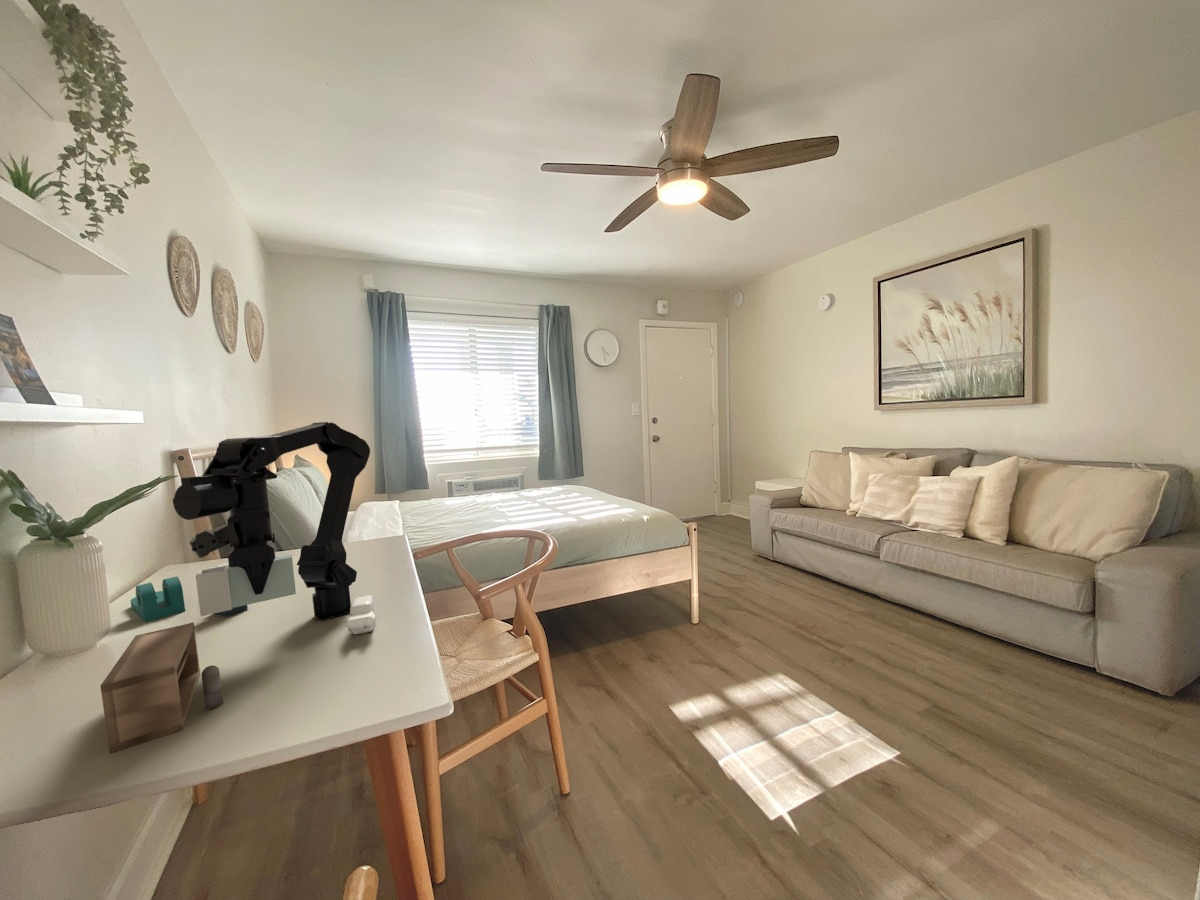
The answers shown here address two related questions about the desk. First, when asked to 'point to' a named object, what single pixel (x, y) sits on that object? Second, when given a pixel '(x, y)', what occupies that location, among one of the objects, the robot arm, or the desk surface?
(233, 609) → the watch
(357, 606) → the power adapter
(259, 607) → the desk surface
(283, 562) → the grey block with opening
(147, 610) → the bracket
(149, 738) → the cabinet
